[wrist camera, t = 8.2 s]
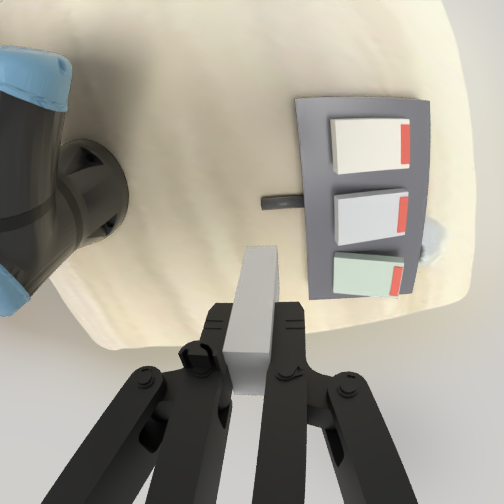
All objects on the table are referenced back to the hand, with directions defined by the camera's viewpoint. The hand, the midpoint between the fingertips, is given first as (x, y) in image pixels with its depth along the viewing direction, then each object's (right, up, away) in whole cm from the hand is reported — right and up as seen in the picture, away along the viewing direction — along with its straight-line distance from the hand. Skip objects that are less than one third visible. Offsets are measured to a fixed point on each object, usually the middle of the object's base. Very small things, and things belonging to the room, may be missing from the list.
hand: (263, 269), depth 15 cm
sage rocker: (+13, -2, +17) cm, 22 cm away
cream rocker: (+11, +11, +10) cm, 18 cm away
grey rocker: (+12, +5, +14) cm, 19 cm away
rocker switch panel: (+10, +7, +19) cm, 23 cm away
